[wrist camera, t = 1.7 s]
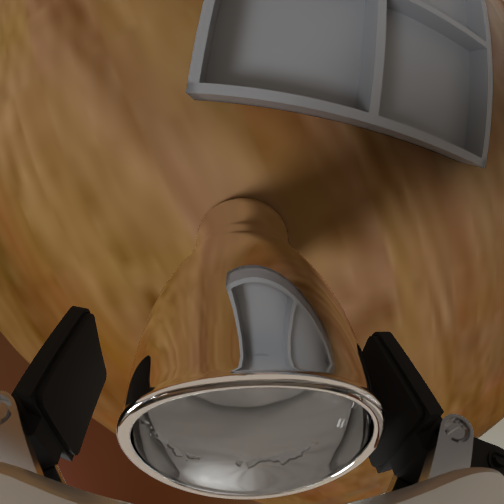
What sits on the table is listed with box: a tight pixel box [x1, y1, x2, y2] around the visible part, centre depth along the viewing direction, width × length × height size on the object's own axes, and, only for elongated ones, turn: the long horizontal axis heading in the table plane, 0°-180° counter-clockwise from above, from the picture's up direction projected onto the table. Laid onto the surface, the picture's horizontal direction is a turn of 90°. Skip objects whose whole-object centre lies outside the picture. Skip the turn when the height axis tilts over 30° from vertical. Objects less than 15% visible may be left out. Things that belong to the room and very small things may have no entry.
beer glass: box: [117, 198, 387, 499], centre depth 12 cm, size 7×7×15 cm
